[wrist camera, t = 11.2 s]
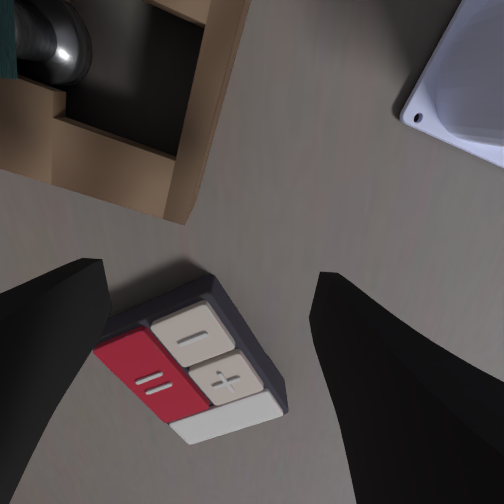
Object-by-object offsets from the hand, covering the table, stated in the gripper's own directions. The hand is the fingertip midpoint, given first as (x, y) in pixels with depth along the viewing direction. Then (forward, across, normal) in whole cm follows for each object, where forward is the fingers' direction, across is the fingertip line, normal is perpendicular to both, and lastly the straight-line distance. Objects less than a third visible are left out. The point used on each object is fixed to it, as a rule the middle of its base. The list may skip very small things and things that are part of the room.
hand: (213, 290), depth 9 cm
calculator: (+11, +2, +15) cm, 19 cm away
